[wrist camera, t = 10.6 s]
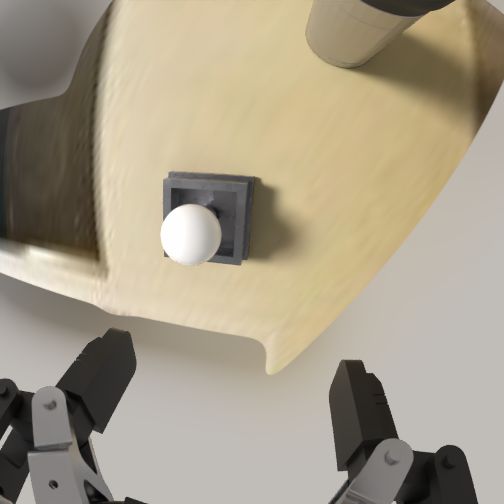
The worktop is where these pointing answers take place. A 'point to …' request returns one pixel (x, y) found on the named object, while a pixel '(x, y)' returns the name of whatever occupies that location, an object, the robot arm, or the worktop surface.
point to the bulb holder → (216, 207)
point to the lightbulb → (191, 234)
